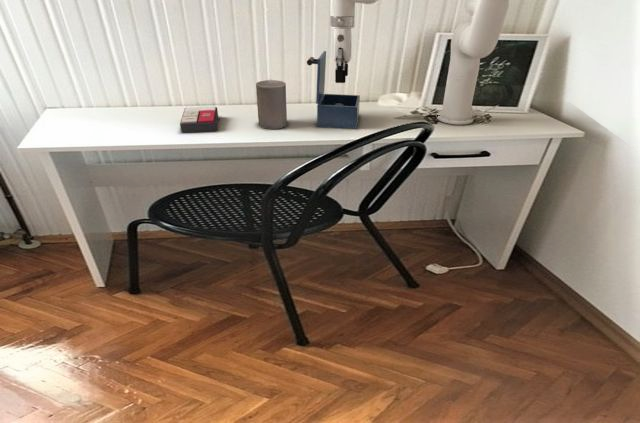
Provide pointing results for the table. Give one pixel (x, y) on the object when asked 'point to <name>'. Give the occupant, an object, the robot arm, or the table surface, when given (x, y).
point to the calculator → (199, 119)
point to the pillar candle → (271, 104)
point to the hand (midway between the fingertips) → (341, 79)
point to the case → (338, 111)
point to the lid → (319, 74)
